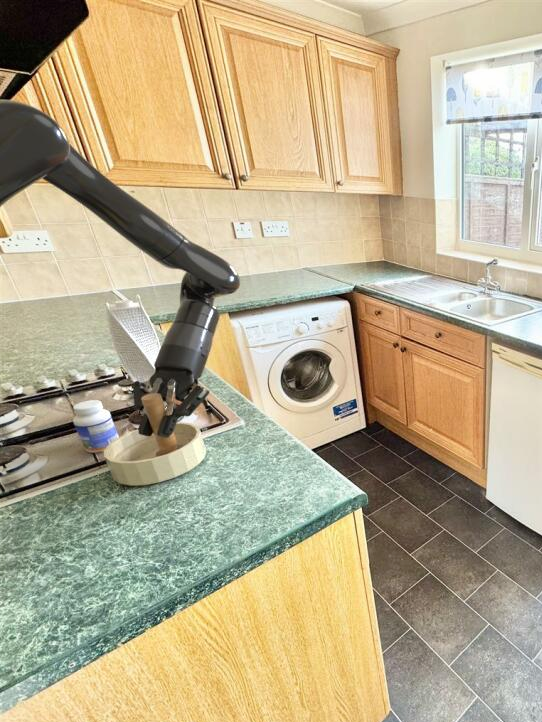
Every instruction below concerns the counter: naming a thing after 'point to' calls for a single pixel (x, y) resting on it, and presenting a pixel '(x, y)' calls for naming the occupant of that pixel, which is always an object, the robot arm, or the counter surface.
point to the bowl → (154, 456)
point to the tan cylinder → (155, 414)
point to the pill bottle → (94, 426)
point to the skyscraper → (133, 338)
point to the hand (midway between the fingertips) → (153, 435)
